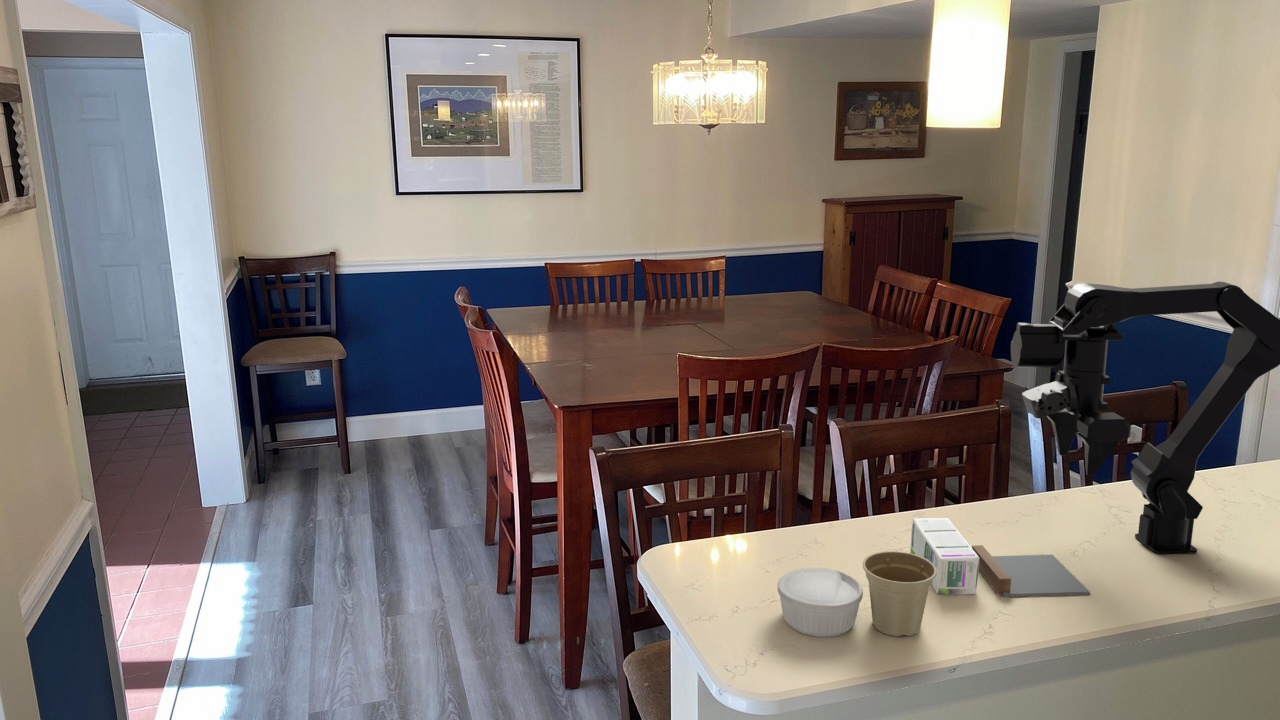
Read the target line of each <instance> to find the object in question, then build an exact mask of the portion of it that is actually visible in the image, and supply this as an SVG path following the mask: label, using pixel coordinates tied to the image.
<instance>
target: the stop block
mask: <svg viewBox="0 0 1280 720" xmlns="http://www.w3.org/2000/svg"><path fill="white" fill-rule="evenodd" d="M971 548H972V549H973V550H974V552H975V553H976V554H977V555H978V557H979V573H980V574H981V575H982V576H983V578H984V579H985V580H986V581H987V583H988V584H989V585H990V586H991V588H993V590H994V591H995V592H996V593H997V595H998V596H1003V592H1010V587H1011V578H1010V577H1009V576H1008V574H1007V573H1006V572H1005V571H1004V570H1003V569H1002V567H1001V566H1000V565H999V564H998V563H997V562H996V560H995V559H994V558H993V557H992V555H991V554H990V552H989V551H988V550H987V549H986V548H985V547H984V545H983V544H982V545H981V544H979V545H972V546H971Z"/></svg>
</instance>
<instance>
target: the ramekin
mask: <svg viewBox="0 0 1280 720" xmlns="http://www.w3.org/2000/svg"><path fill="white" fill-rule="evenodd" d="M777 592H778V595H779V599H780V600H779V601H780V605H781V610H782V615H783V619H784V620H785V622H786V623H787V624H788V625H789V626H790V627H791V628H792V629H793V628H794V630H795V631H796V630H797V631H796V632H798V631H799V633H800V632H801V633H800V634H803V635H806V634H807V636H810V637H817V638H831V637H830V636H832V637H836V635H837V636H840V635H843V634H845V633H847V632H849V631H850V629H852V628H853V627H854V626H855V624H856V621H857V616H858V613H859V608H860V604H861V602H862V600H863V595H864V589H863V586H862V585H861V583H860V582H859V581H858V580H857V579H856V578H855V577H853V576H851V575H850V574H847V573H845V572H843V571H839V570H837V569H832V568H828V567H827V568H826V567H803V568H797V569H793V570H790V571H788V572H786V573H784V574H783V575H782V576H781V577H779V579H778V582H777ZM842 633H843V634H842Z"/></svg>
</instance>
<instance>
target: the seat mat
mask: <svg viewBox="0 0 1280 720" xmlns="http://www.w3.org/2000/svg"><path fill="white" fill-rule="evenodd" d="M991 556H992V555H991ZM992 557H993V558H994V559H995V560H996V562H997V563H998V564H999V565H1000V566H1001V567H1002V569H1003V570H1004V571H1005V572H1006V573H1007V574H1008V576H1009V577H1010V578H1011V587H1010V592H1003V595H1002V596H1003V597H1006V598H1009V597H1040V596H1043V597H1044V596H1047V597H1048V596H1076V595H1077V596H1078V595H1081V596H1082V595H1090V593H1091V591H1090V590H1089V589H1088V588H1087V587H1086V586H1085V585H1084V584H1083V583H1081V581H1079V579H1078V578H1076V577H1075V575H1074V574H1073V573H1072V572H1070V571H1069V569H1068V568H1067V567H1065V566H1064V564H1062V563H1061V561H1060V560H1059V559H1057V557H1055V556H1054V555H1053V554H1030V555H1029V554H1023V555H1022V554H1021V555H996V556H995V555H993V556H992Z"/></svg>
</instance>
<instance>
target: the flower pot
mask: <svg viewBox="0 0 1280 720" xmlns="http://www.w3.org/2000/svg"><path fill="white" fill-rule="evenodd" d="M862 568H863V570H864V572H865V578H866V580H867V581H868V589H869V598H870V600H869V601H870V609H871V618H872V620H871V621H872V623H873V625H874V627H875V629H876V630H878V632H881V633H883V634H886V635H889V636H894V637H900V636H903V635H904V636H907V637H911V636H914V635H915V634H917V633H919V632H920V630H921V628H922V622H923V617H924V613H925V608H926V603H927V599H928V595H929V589H930V587H932V585H931V584H932V580H933V579H934V578H935V577H936V574H937V569H936V567H935V565H934V564H933V563H932V562H930V561H929V560H927V559H926V558H923V557H921V556H918V555H915V554H912V553H911V552H906V551H898V550H895V551H894V550H889V551H888V550H886V551H878V552H874V553H872V554H869V555H868V556H866V557H865V558H864V559H863V561H862Z"/></svg>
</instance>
